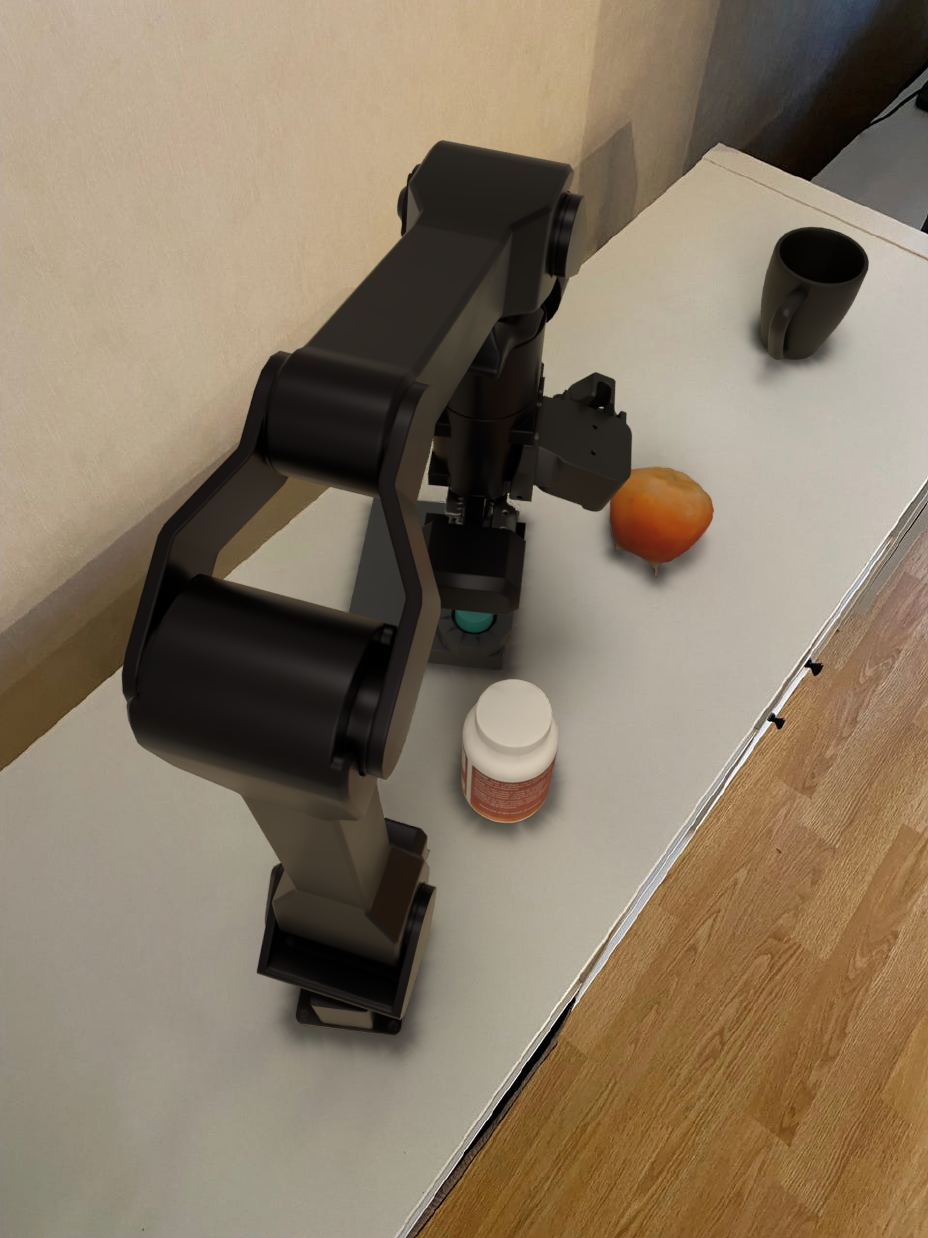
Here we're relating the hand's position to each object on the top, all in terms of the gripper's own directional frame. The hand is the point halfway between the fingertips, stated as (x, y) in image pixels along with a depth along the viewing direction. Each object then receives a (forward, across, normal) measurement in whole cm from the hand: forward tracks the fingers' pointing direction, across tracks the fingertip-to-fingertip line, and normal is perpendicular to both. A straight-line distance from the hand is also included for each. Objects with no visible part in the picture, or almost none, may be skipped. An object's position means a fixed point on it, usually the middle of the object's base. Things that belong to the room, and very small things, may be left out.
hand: (476, 554), depth 65 cm
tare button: (+8, 0, 0) cm, 8 cm away
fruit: (+11, +12, -14) cm, 21 cm away
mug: (+11, +36, -26) cm, 45 cm away
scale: (+11, +4, +4) cm, 12 cm away
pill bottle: (+11, -12, -4) cm, 16 cm away
